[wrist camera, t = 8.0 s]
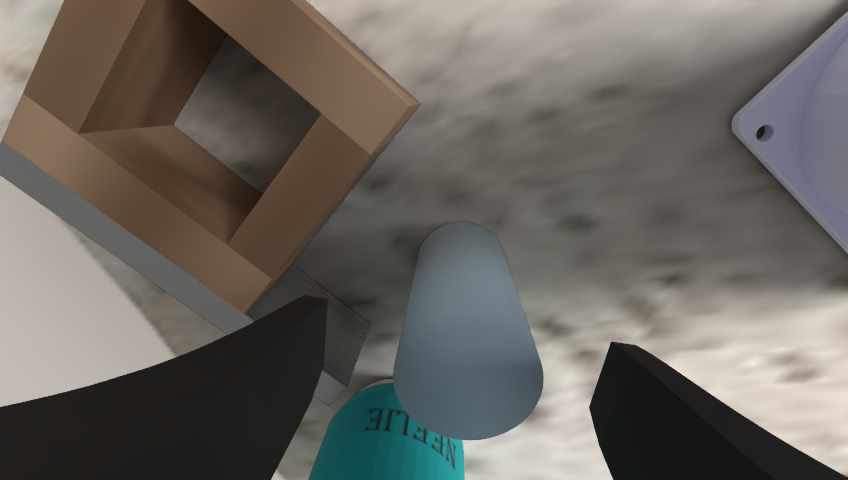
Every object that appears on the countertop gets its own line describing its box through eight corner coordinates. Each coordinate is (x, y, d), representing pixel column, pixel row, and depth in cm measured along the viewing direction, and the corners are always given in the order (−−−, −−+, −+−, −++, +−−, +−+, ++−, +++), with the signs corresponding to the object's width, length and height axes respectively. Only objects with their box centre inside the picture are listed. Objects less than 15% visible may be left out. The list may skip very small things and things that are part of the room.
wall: (370, 323, 17) (346, 387, 13) (355, 338, 17) (328, 405, 14) (115, 129, 15) (1, 140, 11) (103, 150, 15) (-11, 168, 12)
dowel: (523, 260, 16) (576, 379, 9) (463, 318, 17) (471, 462, 10) (457, 203, 15) (462, 285, 9) (399, 266, 16) (363, 384, 10)
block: (420, 103, 14) (409, 106, 10) (292, 264, 16) (243, 314, 13) (224, -73, 13) (128, -145, 9) (115, 129, 15) (1, 140, 11)
